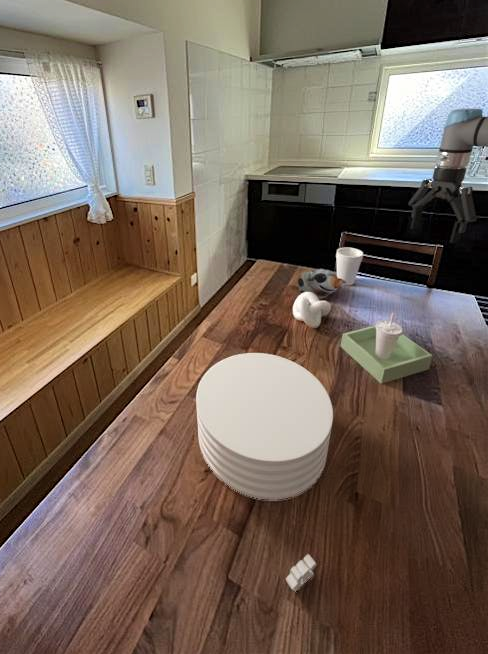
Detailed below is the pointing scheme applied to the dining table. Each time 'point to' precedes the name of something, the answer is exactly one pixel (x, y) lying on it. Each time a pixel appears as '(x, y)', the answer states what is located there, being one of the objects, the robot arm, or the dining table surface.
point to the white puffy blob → (310, 309)
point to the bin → (400, 364)
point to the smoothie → (386, 337)
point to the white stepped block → (301, 573)
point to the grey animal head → (319, 282)
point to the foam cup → (348, 263)
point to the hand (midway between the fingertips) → (433, 234)
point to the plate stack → (263, 425)
